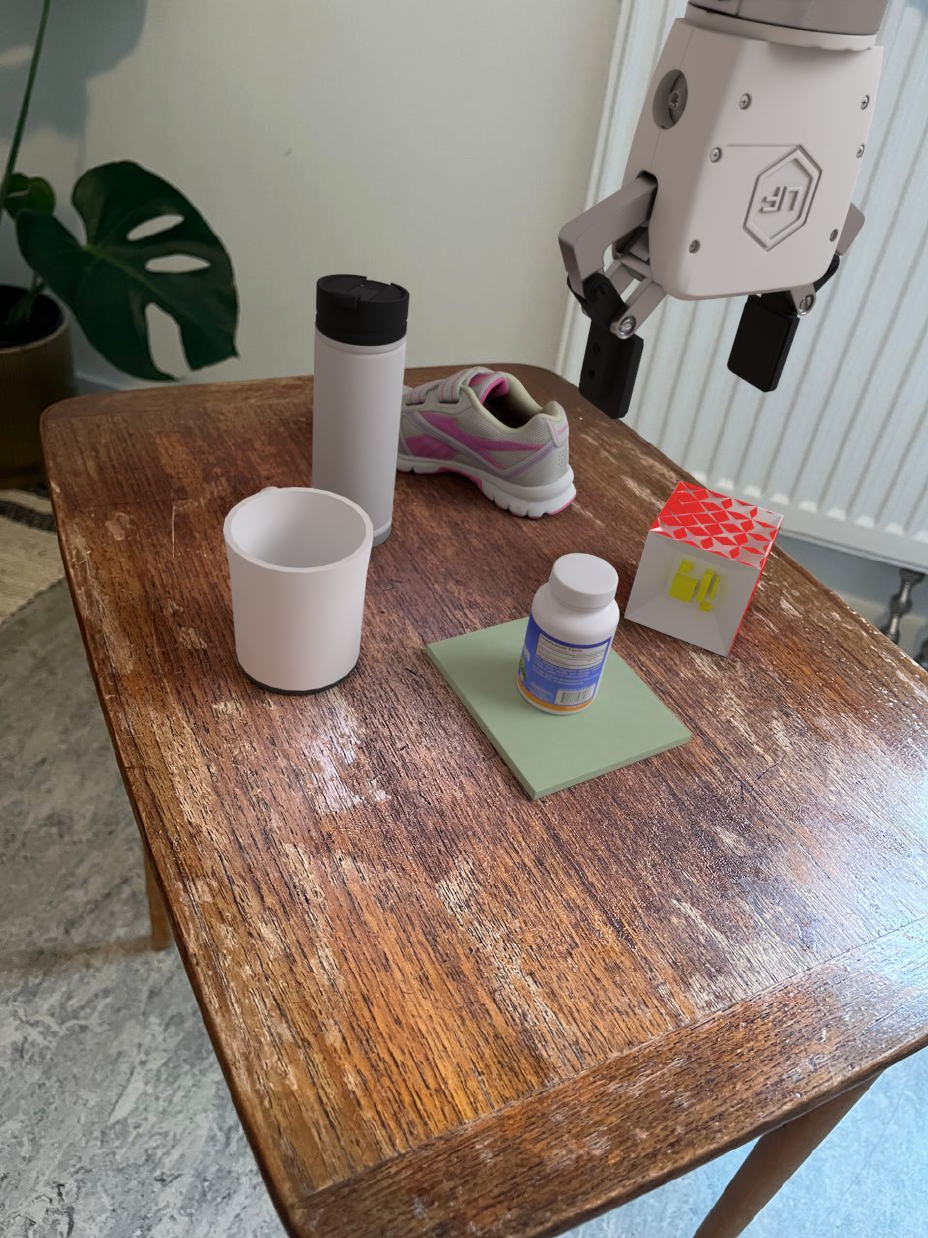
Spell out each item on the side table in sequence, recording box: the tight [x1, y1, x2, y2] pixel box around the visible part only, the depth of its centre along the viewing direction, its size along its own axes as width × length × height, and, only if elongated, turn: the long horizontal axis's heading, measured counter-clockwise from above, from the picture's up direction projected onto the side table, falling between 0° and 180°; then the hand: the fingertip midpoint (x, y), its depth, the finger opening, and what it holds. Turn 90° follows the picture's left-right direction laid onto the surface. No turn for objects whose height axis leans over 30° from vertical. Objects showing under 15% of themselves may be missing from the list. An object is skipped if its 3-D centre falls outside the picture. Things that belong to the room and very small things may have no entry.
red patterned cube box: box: [623, 480, 785, 658], centre depth 71 cm, size 8×8×8 cm
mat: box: [425, 615, 692, 801], centre depth 64 cm, size 14×12×1 cm
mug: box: [222, 486, 373, 696], centre depth 62 cm, size 11×9×10 cm
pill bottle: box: [517, 552, 620, 715], centre depth 60 cm, size 5×5×10 cm
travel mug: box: [311, 273, 411, 549], centre depth 69 cm, size 6×7×20 cm
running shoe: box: [396, 366, 577, 520], centre depth 82 cm, size 9×22×10 cm, turn 64°
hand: (678, 392), depth 48 cm, fingers open, 9 cm apart
